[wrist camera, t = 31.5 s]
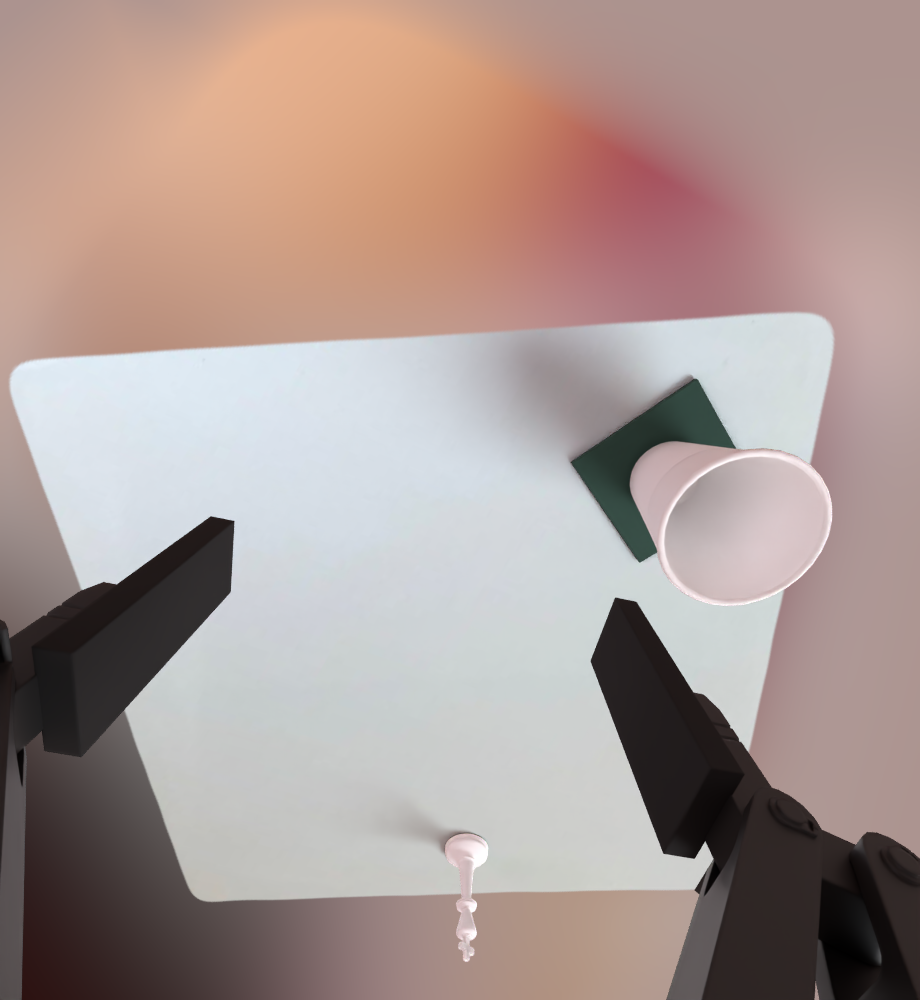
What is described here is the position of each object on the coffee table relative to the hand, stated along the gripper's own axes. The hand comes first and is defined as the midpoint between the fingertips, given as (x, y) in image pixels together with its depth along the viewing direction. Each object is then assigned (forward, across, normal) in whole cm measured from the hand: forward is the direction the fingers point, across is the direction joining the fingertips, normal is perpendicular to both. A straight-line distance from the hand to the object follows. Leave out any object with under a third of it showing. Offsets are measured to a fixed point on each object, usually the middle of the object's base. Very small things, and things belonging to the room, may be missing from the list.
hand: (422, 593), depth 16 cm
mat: (+22, +18, +1) cm, 29 cm away
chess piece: (+22, +12, -46) cm, 52 cm away
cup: (+22, +18, +1) cm, 28 cm away
